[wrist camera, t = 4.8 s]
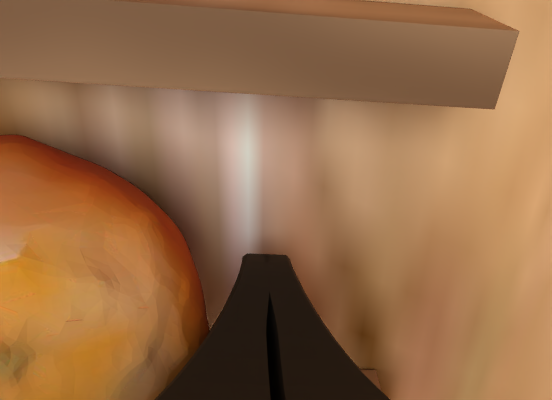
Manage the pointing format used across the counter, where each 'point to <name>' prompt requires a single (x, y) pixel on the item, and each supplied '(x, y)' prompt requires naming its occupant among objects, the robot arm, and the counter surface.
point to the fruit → (89, 282)
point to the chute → (263, 49)
